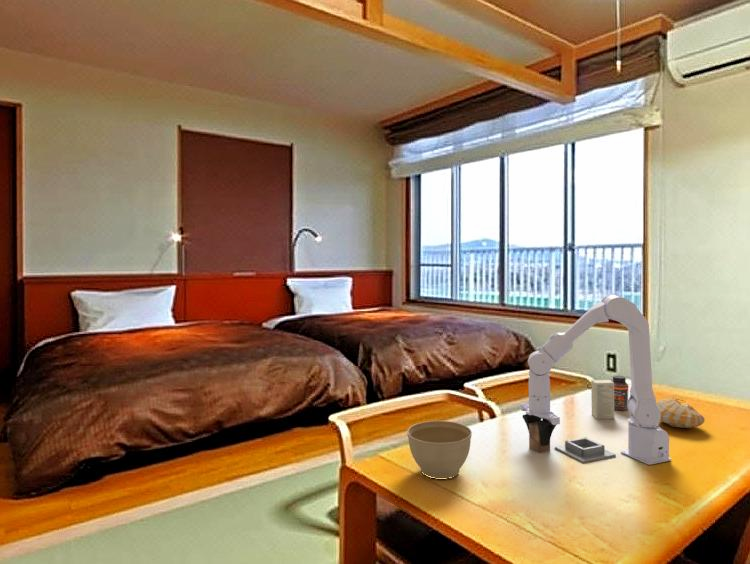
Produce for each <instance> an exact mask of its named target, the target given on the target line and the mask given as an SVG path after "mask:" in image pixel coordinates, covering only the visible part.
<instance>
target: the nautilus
mask: <svg viewBox="0 0 750 564" xmlns="http://www.w3.org/2000/svg"><path fill="white" fill-rule="evenodd" d="M683 402H684V403H686V401H685V400H683V399H679V398H677V397H675V399H674V396H672V398H663V399H659V401H657V402H656V405H657V407H658V409H659V410H660V413H661V418H660V421H659V422H661V423H665V424H667V425H669V426H671V427H674V428H685V429H688V430H689V429H691V428H697V427H700V426H702V425H704V423H705V420H706V419H705V417H704V416H703V415H702V414H701V413H699V412H698V411H697V409H695V408H694V407H693V406H691V405H690V404H684V403H683Z"/></svg>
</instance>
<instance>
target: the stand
mask: <svg viewBox="0 0 750 564" xmlns="http://www.w3.org/2000/svg"><path fill="white" fill-rule="evenodd" d="M564 442H565V443H564V444H563V445H556V446H554V449H555V450H557V451H558V452H561V453H562V454H565V455H566V456H567V457H568V456H569V457H570V458H573V459H574V460H576V461H578V462H579V463H582V464H585V463H591V462H594V461H595V462H596V461H601V460H604V459H610V458H611V459H612V458H615V457H616V455H617V454H616V453H614V452H612V451H609V450H606V449H605V444H604V445H603V444H601V443H599V442H597V441H595V440H592V439H590V438H588V437H581V438H574V439H569V440H565V441H564Z"/></svg>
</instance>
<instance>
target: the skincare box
mask: <svg viewBox="0 0 750 564" xmlns="http://www.w3.org/2000/svg"><path fill="white" fill-rule="evenodd" d="M612 381H613V380H611V379H591V384H590V385H591V386H590V387H591V390H590V391H591V416H592V417H593V418H594V419H597V420H603V419H609V420H610V419H612V420H613V419H615V410H614V382H612Z"/></svg>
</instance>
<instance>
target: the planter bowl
mask: <svg viewBox="0 0 750 564" xmlns="http://www.w3.org/2000/svg"><path fill="white" fill-rule="evenodd" d="M406 431H407V432H406V433H407V438H408V446H409V451H410V453H411V456H412V458H413V460H414V461H415V463H416V464H417V465H418V467H419V468H420V471H422V472H423V473H424V474H426V475H428V476H431V477H435V478H449V477H453V476H456V475H457V474H458V473H459V474H460V469H461V468H462V467H463V465H464V464H465V462H466V460H467V458H468V456H469V452H470V448H471V439H472V430H471V428H469V427H468V426H466V425H465V424H461V423H459V422H456V421H450V420H426V421H423V422H419V423H415V424H413V425H411V426H409V428H408V429H407V430H406ZM422 472H421V473H422ZM459 474H458V475H459ZM458 475H457V476H458ZM457 476H456V477H457Z"/></svg>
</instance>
